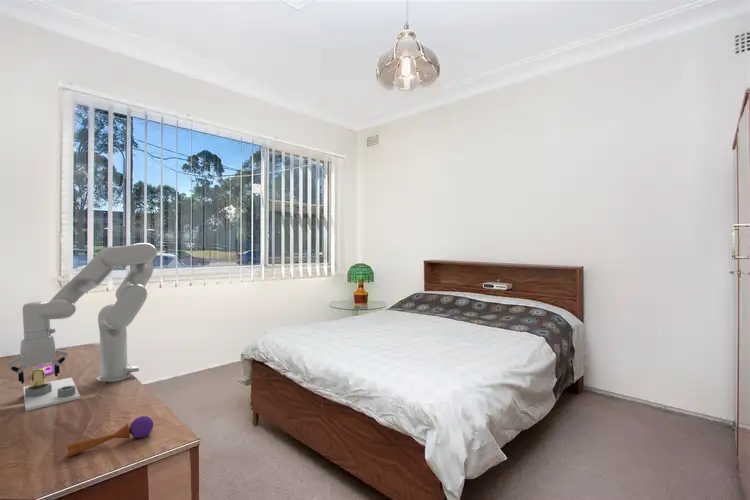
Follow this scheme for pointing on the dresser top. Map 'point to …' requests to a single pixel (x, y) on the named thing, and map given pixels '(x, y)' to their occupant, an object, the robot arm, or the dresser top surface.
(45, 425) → the dresser top surface
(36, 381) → the brass pipe fitting
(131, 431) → the kendama
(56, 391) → the fitting board
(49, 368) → the bracket
